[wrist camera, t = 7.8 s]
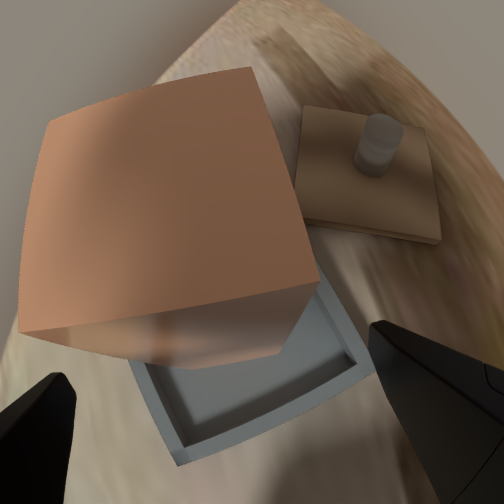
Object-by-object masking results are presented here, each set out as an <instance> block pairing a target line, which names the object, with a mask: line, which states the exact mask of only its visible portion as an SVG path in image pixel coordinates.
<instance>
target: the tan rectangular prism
mask: <svg viewBox="0 0 504 504" xmlns="http://www.w3.org/2000/svg"><path fill="white" fill-rule="evenodd" d="M320 281H321V280H320V276H319V272H318V269H317V265H316V262H315V258H314V254H313V251H312V247H311V244H310V241H309V237H308V234H307V230H306V227H305V224H304V220H303V217H302V214H301V210H300V207H299V204H298V201H297V198H296V194H295V191H294V188H293V185H292V182H291V179H290V175H289V172H288V169H287V166H286V163H285V160H284V157H283V154H282V151H281V148H280V145H279V142H278V139H277V136H276V134H275V131H274V128H273V125H272V122H271V119H270V116H269V114H268V111H267V108H266V105H265V102H264V100H263V97H262V94H261V91H260V89H259V86H258V83H257V81H256V78H255V75H254V73H253V70H252V67H244V68H238V69H231V70H225V71H219V72H213V73H208V74H203V75H198V76H193V77H188V78H184V79H179V80H175V81H171V82H166V83H162V84H158V85H155V86H151V87H147V88H143V89H140V90H137V91H133V92H129V93H126V94H123V95H120V96H116V97H113V98H111V99H107V100H105V101H101V102H98V103H95V104H93V105H90V106H87V107H84V108H82V109H79V110H76V111H74V112H71V113H69V114H66V115H63V116H61V117H59V118H56V119H54V120H51V121H49V123H48V126H47V129H46V133H45V137H44V140H43V143H42V147H41V150H40V155H39V158H38V162H37V166H36V170H35V175H34V179H33V184H32V189H31V194H30V199H29V204H28V210H27V216H26V223H25V230H24V237H23V245H22V255H21V265H20V280H19V300H18V333H21V334H24V335H28V336H31V337H34V338H38V339H41V340H45V341H49V342H52V343H56V344H60V345H64V346H68V347H72V348H76V349H80V350H85V351H89V352H93V353H98V354H103V355H107V356H112V357H117V358H122V359H127V360H133V361H138V362H144V363H150V364H156V365H163V366H169V367H176V368H183V369H191V370H192V369H199V368H205V367H211V366H218V365H223V364H229V363H235V362H240V361H246V360H251V359H256V358H261V357H266V356H271V355H276V354H279V352H280V351H281V349H282V348H283V346H284V344H285V343H286V341H287V339H288V337H289V336H290V334H291V332H292V331H293V329H294V327H295V326H296V324H297V322H298V320H299V319H300V317H301V315H302V313H303V312H304V310H305V308H306V306H307V305H308V303H309V301H310V299H311V298H312V296H313V294H314V292H315V290H316V289H317V287H318V285H319V283H320Z"/></svg>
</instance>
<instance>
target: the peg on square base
mask: <svg viewBox="0 0 504 504" xmlns="http://www.w3.org/2000/svg"><path fill="white" fill-rule="evenodd" d="M294 191H295V194H296V198H297V201H298V204H299V207H300V210H301V214H302V217H303V220H304V224H308V225H315V226H322V227H328V228H335V229H342V230H348V231H355V232H361V233H368V234H374V235H380V236H386V237H392V238H398V239H404V240H410V241H416V242H422V243H427V244H433V245H437V244H438V243H439V242H440V241H442V236H441V226H440V217H439V209H438V201H437V195H436V188H435V182H434V176H433V170H432V165H431V160H430V155H429V150H428V145H427V140H426V136H425V132H424V129H423V128H419V127H416V126H412V125H408V124H404V123H400V122H398V121H396V120H395V119H394V118H392V117H390V116H388V115H385V114H381V113H376V114H372V115H370V116H368V115H363V114H358V113H353V112H347V111H341V110H335V109H329V108H323V107H316V106H309V105H303V114H302V123H301V133H300V142H299V152H298V161H297V169H296V178H295V186H294Z"/></svg>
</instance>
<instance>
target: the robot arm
mask: <svg viewBox="0 0 504 504" xmlns="http://www.w3.org/2000/svg"><path fill="white" fill-rule="evenodd" d="M368 350H369V354H370V357H371V359H372V362H373V364H374V366H375V369H376V371H377V374H378V377H379V379H380V382H381V384H382V387H383V389H384V392H385V394H386V397H387V399H388V401H389V403H390V404H391V406H392V408H393V410H394V412H395V414H396V416H397V418H398V419H399V421H400V423H401V425H402V427H403V429H404V431H405V433H406V435H407V437H408V439H409V441H410V442H411V444H412V446H413V448H414V450H415V452H416V454H417V456H418V458H419V460H420V462H421V464H422V466H423V468H424V470H425V472H426V474H427V476H428V478H429V480H430V482H431V485H432V487H433V489H434V491H435V493H436V495H437V497H438V499H439V501H440V503H441V504H504V371H503V370H501V369H498V368H496V367H493V366H491V365H489V364H486V363H484V364H483V362H481V361H479V360H477V359H474V358H472V357H470V356H467V355H465V354H462V353H460V352H458V351H455V350H453V349H451V348H448V347H446V346H444V345H441V344H439V343H437V342H434V341H432V340H430V339H427V338H425V337H423V336H420V335H418V334H416V333H413V332H411V331H409V330H407V329H404V328H402V327H400V326H397V325H395V324H393V323H390V322H388V321H386V320H380V321H377V322H373V323H371V324H370V327H369V341H368ZM76 400H77V397H76V392H75V390H74V389H73V387H72V385H71V384H70V382H69V381H68V379H67V377H66V376H65V374H63V373H61V372H53V373H50V374H49V375H48V376H46V377H45V378H44V379H42V380H41V381H40V382H38V383H37V384H36V385H35V386H33V387H32V388H31V389H30V390H28V391H27V392H26V393H24V394H23V395H22V396H21V397H19V398H18V399H17V400H16V401H14V402H13V403H12V404H10V405H9V406H8V407H7V408H5V409H4V410H3V411H2V412H0V504H63V502H64V493H65V485H66V478H67V471H68V464H69V458H70V452H71V446H72V439H73V429H74V418H75V409H76Z"/></svg>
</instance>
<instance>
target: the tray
mask: <svg viewBox="0 0 504 504" xmlns="http://www.w3.org/2000/svg"><path fill="white" fill-rule="evenodd" d="M315 262H316V265H317V269H318V272H319V276H320V280H321V281H320V283H319V285H318V287H317V289H316V290H315V292H314V294H313V296H312V298H311V299H310V301H309V303H308V305H307V306H306V308H305V310H304V312H303V313H302V315H301V317H300V319H299V320H298V322H297V324H296V326H295V327H294V329H293V331H292V332H291V334H290V336H289V337H288V339H287V341H286V343H285V344H284V346H283V348H282V349H281V351H280V352H279V354H276V355H271V356H266V357H261V358H256V359H251V360H246V361H240V362H235V363H229V364H223V365H218V366H211V367H205V368H199V369H192V370H191V369H183V368H176V367H169V366H163V365H156V364H150V363H144V362H138V361H133V360H128V362H129V364H130V367H131V369H132V372H133V374H134V377H135V379H136V382H137V384H138V386H139V389H140V391H141V393H142V396H143V398H144V400H145V402H146V405H147V407H148V409H149V411H150V413H151V415H152V418H153V420H154V422H155V424H156V426H157V428H158V430H159V432H160V434H161V436H162V438H163V440H164V442H165V444H166V446H167V448H168V450H169V452H170V454H171V455H172V457H173V459H174V461H175V463H176V465H177V467H178V466H181V465H184V464H186V463H189V462H192V461H195V460H198V459H201V458H203V457H206V456H209V455H211V454H214V453H217V452H219V451H222V450H224V449H227V448H229V447H232V446H234V445H236V444H239V443H241V442H244V441H246V440H248V439H250V438H253V437H255V436H257V435H259V434H262V433H264V432H266V431H268V430H270V429H272V428H274V427H276V426H279V425H281V424H283V423H285V422H287V421H289V420H291V419H293V418H295V417H297V416H299V415H300V414H302V413H304V412H306V411H308V410H310V409H312V408H314V407H316V406H317V405H319V404H321V403H323V402H325V401H326V400H328V399H330V398H332V397H333V396H335V395H337V394H339V393H340V392H342V391H344V390H345V389H347V388H349V387H350V386H352V385H354V384H355V383H357V382H358V381H360V380H362V379H363V378H365V377H366V376H368V375H370V374H371V373H373V372H374V371H376V369H375V366H374V364H373V362H372V359H371V357H370V354H369V351H368V349H367V348H366V346H365V344H364V342H363V340H362V339H361V337H360V335H359V333H358V331H357V330H356V328H355V326H354V324H353V323H352V321H351V319H350V317H349V316H348V314H347V312H346V310H345V309H344V307H343V305H342V303H341V302H340V300H339V298H338V296H337V295H336V293H335V291H334V290H333V288H332V286H331V285H330V283H329V281H328V279H327V278H326V276H325V274H324V273H323V271H322V269H321V268H320V266H319V264H318V263H317V261H316V259H315Z"/></svg>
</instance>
